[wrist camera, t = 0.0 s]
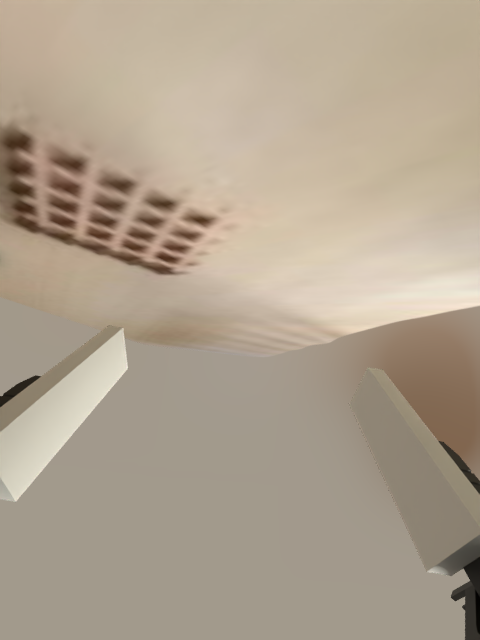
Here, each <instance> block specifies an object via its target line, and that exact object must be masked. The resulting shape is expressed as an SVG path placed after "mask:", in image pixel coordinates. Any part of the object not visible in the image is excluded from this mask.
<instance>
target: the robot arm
mask: <svg viewBox="0 0 480 640" xmlns="http://www.w3.org/2000/svg"><path fill="white" fill-rule="evenodd" d="M127 369H128V365H127V356H126V348H125V339H124V331H123V328H122V327H116V326H110V325H109V326H107V327H106V328H105V329H104V330H102V331H101V332H100V333H98V334H97V335H96V336H94V337H93V338H92V339H90V340H89V341H88V342H86V343H85V344H84V345H83V346H81V347H80V348H78V349H77V350H76V351H74V352H73V353H72V354H70V355H69V356H68V357H66V358H65V359H64V360H62V361H61V362H60V363H58V365H56V366H55V367H53V368H52V369H51V370H50V371H48V372H47V373H45V374H44V375H43V376H34V377H31V378H29V379H27V380H25V381H23V382H20V383H19V384H17V385H15V386H14V387H13V388H11V389H10V390H8V391H7V392H6V393H4V395H3V396H0V499H2V500H8V501H14V502H16V501H17V500H18V498H19V497H20V496H21V495H22V494H23V493H24V491H25V490H26V489H27V488H28V486H29V485H30V484H31V483H32V482H33V481H34V479H35V478H36V477H37V476H38V475H39V473H40V472H41V471H42V470H43V469H44V468H45V466H46V465H47V464H48V463H49V462H50V460H51V459H52V458H53V456H55V454H56V453H57V452H58V451H59V450H60V448H61V447H62V446H63V445H64V444H65V442H66V441H67V440H68V439H69V438H70V437H71V435H72V434H73V433H74V432H75V431H76V429H77V428H78V427H79V426H80V424H81V423H82V422H83V421H84V420H85V419H86V417H87V416H88V415H89V414H90V413H91V412H92V410H93V409H94V408H95V407H96V406H97V404H98V403H99V402H100V401H101V400H102V398H103V397H104V396H105V395H106V394H107V392H108V391H109V390H110V389H111V388H112V387H113V385H114V384H115V383H116V382H117V381H118V379H119V378H120V377H121V376H122V375H123V373H124V372H125V371H126V370H127ZM349 405H350V408H351V409H352V412H353V414H354V416H355V418H356V420H357V422H358V425H359V427H360V429H361V431H362V433H363V436H364V438H365V440H366V442H367V444H368V446H369V448H370V451H371V453H372V455H373V457H374V459H375V461H376V463H377V466H378V468H379V470H380V472H381V474H382V476H383V479H384V481H385V483H386V485H387V487H388V489H389V491H390V494H391V496H392V498H393V500H394V502H395V504H396V506H397V509H398V511H399V512H400V515H401V517H402V519H403V521H404V523H405V526H406V528H407V530H408V532H409V534H410V536H411V538H412V541H413V543H414V545H415V547H416V549H417V552H418V553H419V556H420V558H421V560H422V562H423V564H424V567H425V569H426V571H427V572H432V573H438V574H444V575H450V576H452V575H453V574H455V573H457V572H458V571H460V570H461V569H463V568H464V570H465V572H466V574H467V575H468V577H469V579H470V581H469V582H468V583H466V584H464V585H462V586H461V587H459V588H457V589H455V590H454V591H453V592H452V595H451V598H452V599H453V600H454V601H457V600H459V599H461V598H462V597H465V605H463V606H462V608H463V609H464V610H465V640H480V481H479V480H478V478H477V477H476V476H475V475H474V474H472V473H471V470H470V469H469V467H468V466H467V465H466V464H465V463H464V461H463V460H462V459H461V458H460V456H459V455H457V454H456V453H455V452H454V451H453V450H452V449H451V448H450V447H448V446H447V445H446V444H445V443H444V442H440V441H438V440H437V439H436V438H435V437H434V435H433V434H432V433H431V431H430V430H429V429H428V428H427V426H426V425H425V424H424V423H423V421H422V420H421V419H420V417H419V416H418V415H417V414H416V412H415V411H414V410H413V408H412V407H411V406H410V404H409V403H408V402H407V401H406V399H405V398H404V397H403V395H402V394H401V393H400V392H399V390H398V389H397V388H396V387H395V385H394V384H393V383H392V381H391V380H390V379H389V378H388V376H387V375H386V374H385V372H384V371H383V370H381V369H375V368H369V367H368V368H367V370H366V372H365V374H364V376H363V378H362V380H361V382H360V384H359V386H358V388H357V390H356V392H355V394H354V396H353V398H352V400H351V402H350V404H349Z"/></svg>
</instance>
